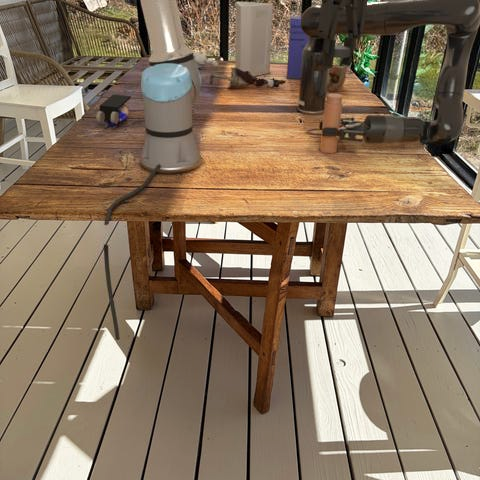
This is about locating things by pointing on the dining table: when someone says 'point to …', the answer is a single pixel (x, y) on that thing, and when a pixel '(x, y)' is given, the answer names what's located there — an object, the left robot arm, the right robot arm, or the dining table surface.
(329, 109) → the wooden cylinder
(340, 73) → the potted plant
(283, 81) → the figurine
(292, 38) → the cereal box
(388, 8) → the right robot arm
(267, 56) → the tall white carton
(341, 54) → the lid
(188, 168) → the left robot arm
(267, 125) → the dining table surface
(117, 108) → the figurine character
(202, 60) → the toy
